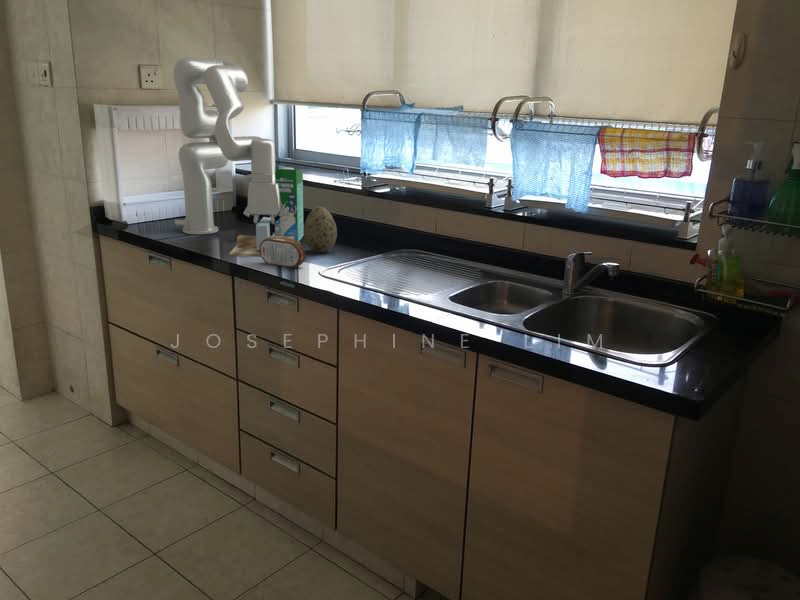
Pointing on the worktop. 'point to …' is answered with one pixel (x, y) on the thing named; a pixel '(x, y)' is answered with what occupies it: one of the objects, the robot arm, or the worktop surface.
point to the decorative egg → (320, 230)
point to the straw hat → (249, 246)
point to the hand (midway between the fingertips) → (265, 234)
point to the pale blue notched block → (263, 230)
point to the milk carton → (290, 203)
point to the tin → (282, 252)
